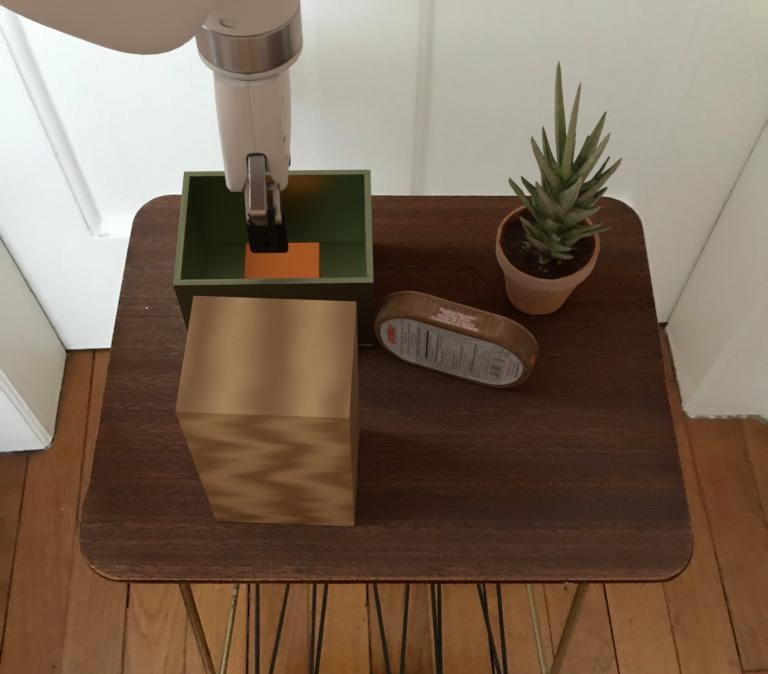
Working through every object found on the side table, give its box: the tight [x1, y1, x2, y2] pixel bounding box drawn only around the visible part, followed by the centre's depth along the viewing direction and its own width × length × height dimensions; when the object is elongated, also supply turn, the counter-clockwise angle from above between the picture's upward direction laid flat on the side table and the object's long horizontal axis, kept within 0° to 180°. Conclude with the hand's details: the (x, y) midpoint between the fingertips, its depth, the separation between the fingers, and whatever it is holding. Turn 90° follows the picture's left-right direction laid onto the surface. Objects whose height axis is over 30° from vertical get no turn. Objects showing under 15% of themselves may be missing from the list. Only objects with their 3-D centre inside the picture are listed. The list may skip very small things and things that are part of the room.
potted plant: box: [495, 60, 623, 316], centre depth 78 cm, size 10×10×25 cm
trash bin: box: [172, 169, 375, 349], centre depth 84 cm, size 13×17×10 cm
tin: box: [374, 290, 540, 389], centre depth 81 cm, size 15×3×8 cm, turn 71°
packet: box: [244, 243, 322, 279], centre depth 86 cm, size 7×5×4 cm
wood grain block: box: [174, 296, 361, 527], centre depth 72 cm, size 12×10×18 cm
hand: (271, 206), depth 78 cm, fingers open, 9 cm apart
